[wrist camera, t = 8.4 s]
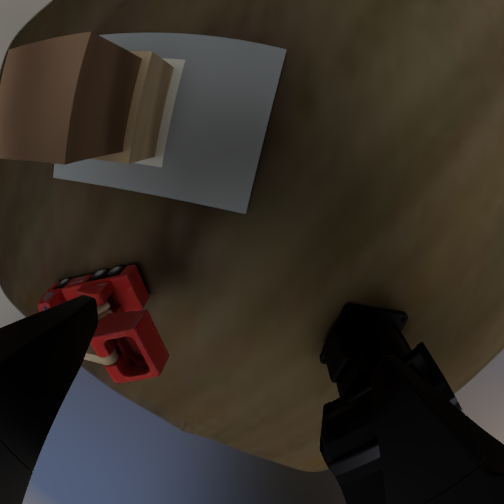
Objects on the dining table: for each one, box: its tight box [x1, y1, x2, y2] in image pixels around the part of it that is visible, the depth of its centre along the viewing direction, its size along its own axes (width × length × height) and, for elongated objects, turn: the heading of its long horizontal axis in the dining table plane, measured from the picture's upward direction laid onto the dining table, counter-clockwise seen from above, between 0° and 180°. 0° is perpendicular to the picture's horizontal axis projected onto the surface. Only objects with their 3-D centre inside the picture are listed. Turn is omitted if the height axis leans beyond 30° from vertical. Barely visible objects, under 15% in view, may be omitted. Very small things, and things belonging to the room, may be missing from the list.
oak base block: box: [91, 51, 174, 164], centre depth 13 cm, size 6×6×4 cm
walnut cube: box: [0, 32, 142, 165], centre depth 9 cm, size 5×5×5 cm
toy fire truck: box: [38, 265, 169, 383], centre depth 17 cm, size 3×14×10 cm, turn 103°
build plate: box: [53, 33, 287, 214], centre depth 16 cm, size 15×11×1 cm
